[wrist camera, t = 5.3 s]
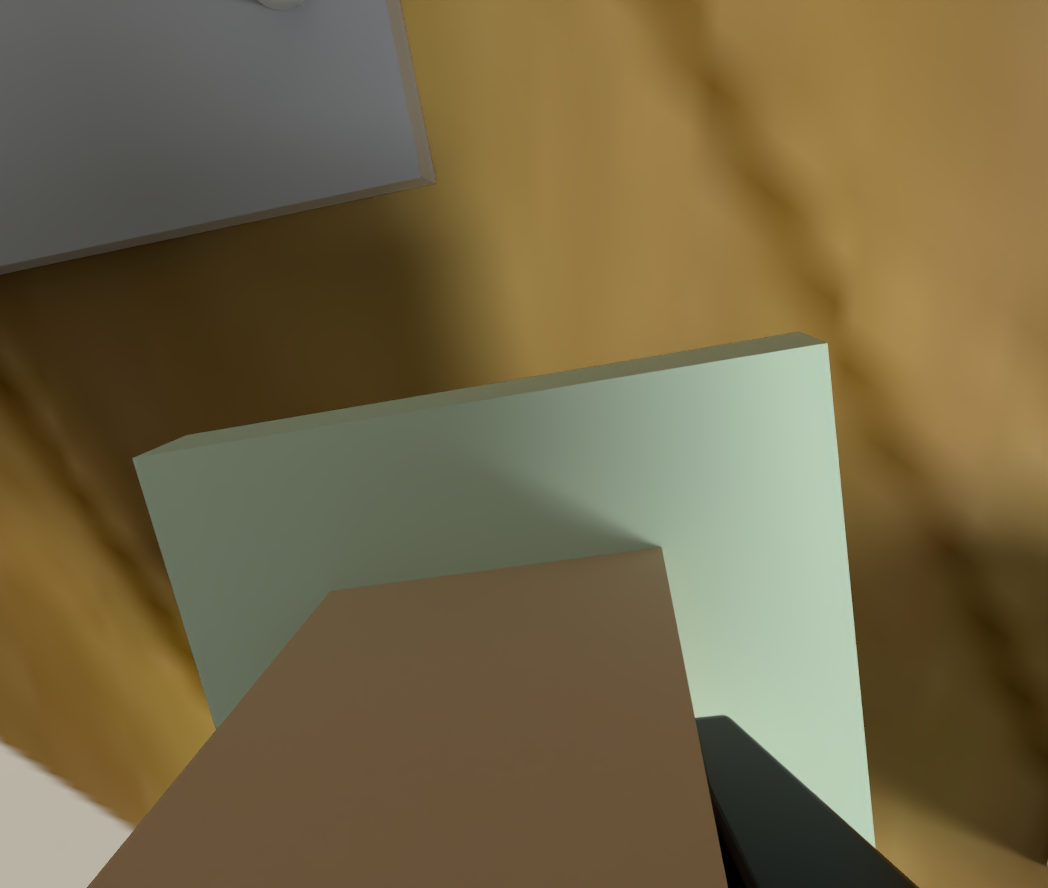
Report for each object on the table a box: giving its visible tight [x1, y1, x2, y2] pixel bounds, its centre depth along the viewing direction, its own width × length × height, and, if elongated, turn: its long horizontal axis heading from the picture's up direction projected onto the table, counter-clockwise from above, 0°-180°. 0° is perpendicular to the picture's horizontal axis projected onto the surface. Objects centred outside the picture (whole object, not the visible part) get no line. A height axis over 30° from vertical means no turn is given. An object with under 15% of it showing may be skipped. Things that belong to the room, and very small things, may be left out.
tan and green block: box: [87, 332, 876, 888], centre depth 7 cm, size 8×8×7 cm
